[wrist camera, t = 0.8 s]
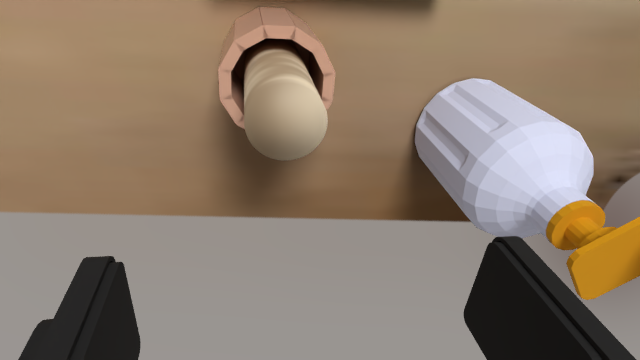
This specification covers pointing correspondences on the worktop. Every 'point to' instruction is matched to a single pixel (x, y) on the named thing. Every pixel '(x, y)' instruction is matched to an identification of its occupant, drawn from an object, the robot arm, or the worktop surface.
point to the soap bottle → (524, 179)
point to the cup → (257, 29)
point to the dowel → (281, 101)
